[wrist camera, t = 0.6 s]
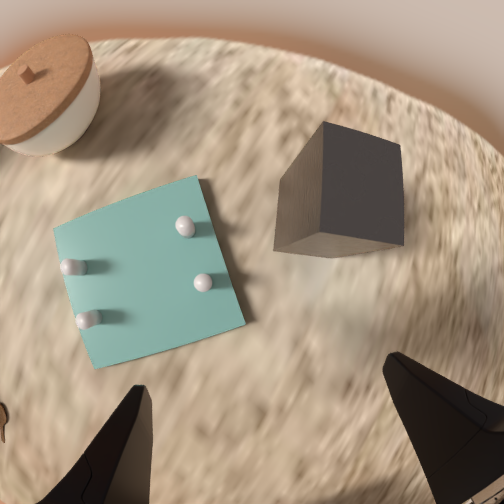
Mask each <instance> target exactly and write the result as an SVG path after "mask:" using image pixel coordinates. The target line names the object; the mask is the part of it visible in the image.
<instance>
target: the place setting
mask: <svg viewBox="0 0 504 504" xmlns="http://www.w3.org/2000/svg"><path fill="white" fill-rule="evenodd" d="M6 421H7V416H6V412H5V410H4V408H3V406H2V405H1V404H0V430H1V439H2V441H3V442H4V443H5V438H4V431H3V425H4V424H5V423H6Z"/></svg>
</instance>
